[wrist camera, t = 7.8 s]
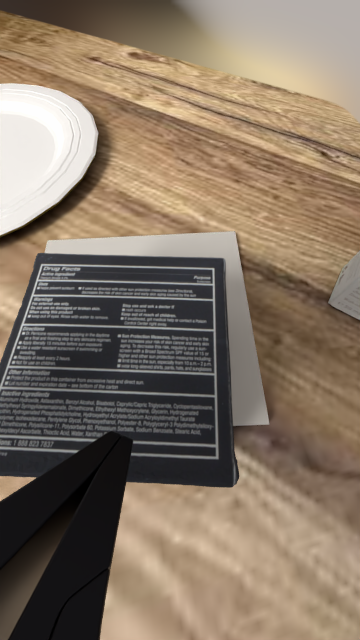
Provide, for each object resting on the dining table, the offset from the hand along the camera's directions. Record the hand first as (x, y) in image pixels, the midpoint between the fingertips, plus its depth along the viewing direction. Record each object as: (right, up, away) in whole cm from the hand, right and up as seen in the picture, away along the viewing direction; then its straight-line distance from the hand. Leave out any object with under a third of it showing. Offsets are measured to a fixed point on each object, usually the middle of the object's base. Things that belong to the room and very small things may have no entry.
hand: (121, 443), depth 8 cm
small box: (-1, -3, +3) cm, 5 cm away
